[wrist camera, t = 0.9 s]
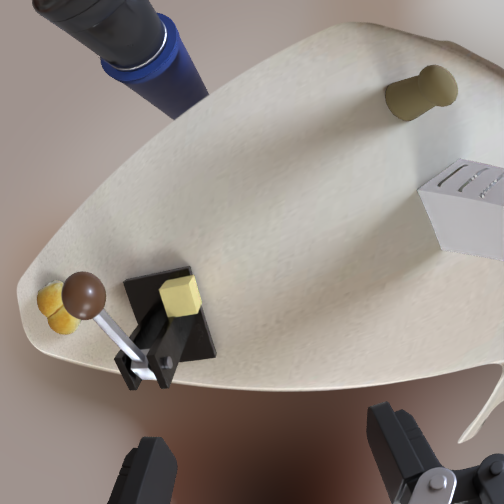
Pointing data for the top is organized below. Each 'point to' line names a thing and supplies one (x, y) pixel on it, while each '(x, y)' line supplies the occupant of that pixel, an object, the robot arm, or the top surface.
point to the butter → (180, 296)
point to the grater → (467, 209)
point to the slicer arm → (101, 317)
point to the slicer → (163, 330)
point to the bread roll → (56, 309)
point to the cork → (421, 93)
